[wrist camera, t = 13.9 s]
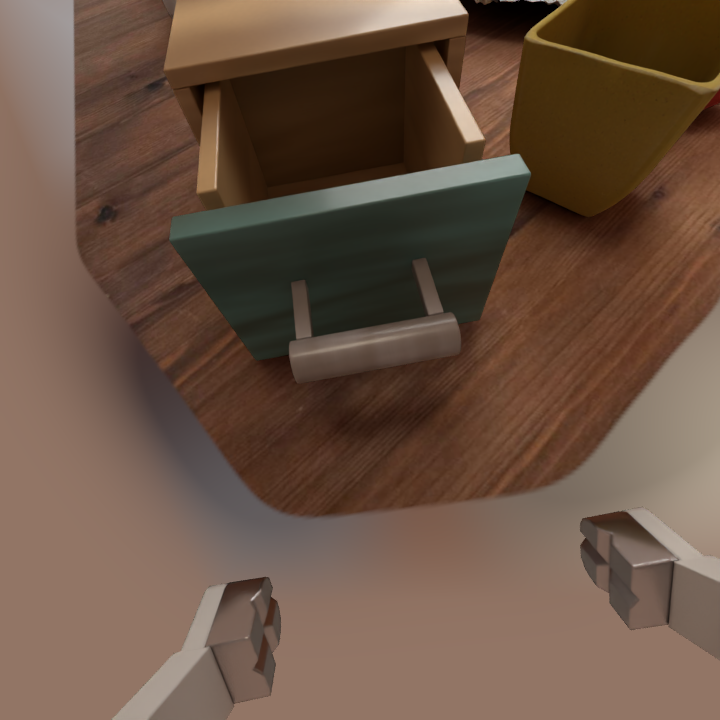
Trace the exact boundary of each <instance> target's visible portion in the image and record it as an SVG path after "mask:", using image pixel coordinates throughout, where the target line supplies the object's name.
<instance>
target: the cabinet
mask: <svg viewBox="0 0 720 720" xmlns="http://www.w3.org/2000/svg"><path fill="white" fill-rule="evenodd" d="M468 17H469V14H468V12H467V11H466V9H465V8H464V7H463V5H462V4H461V2H460V1H459V0H176V6H175V11H174V16H173V22H172V27H171V33H170V38H169V43H168V49H167V54H166V59H165V65H164V73H165V75H166V78H167V80H168V82H169V84H170V86H171V88H172V89H173V92H174V94H175V96H176V98H177V100H178V103H179V105H180V107H181V109H182V111H183V113H184V115H185V117H186V119H187V121H188V123H189V125H190V127H191V129H192V132H193V134H194V136H195V138H196V140H197V142H198V144H199V146H200V141H201V128H202V115H203V102H204V89H205V84H206V83H211V82H216V81H222V80H227V79H233V78H238V77H243V76H249V75H254V74H260V73H265V72H271V71H276V70H281V69H287V68H292V67H298V66H303V65H308V64H314V63H319V62H325V61H330V60H335V59H341V58H346V57H352V56H357V55H363V54H368V53H373V52H379V51H384V50H390V49H395V48H400V47H406V46H411V45H417V44H422V43H427V42H433V43H434V45H435V47H436V49H437V51H438V52H439V54H440V56H441V58H442V60H443V62H444V63H445V65H446V67H447V69H448V71H449V73H450V75H451V76H452V78H453V80H454V82H455V84H456V86H457V87H458V89H459V87H460V79H461V72H462V64H463V57H464V50H465V42H466V36H465V35H466V32H467V25H468Z"/></svg>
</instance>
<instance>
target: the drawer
mask: <svg viewBox="0 0 720 720" xmlns="http://www.w3.org/2000/svg"><path fill="white" fill-rule="evenodd" d="M485 142H486V139H485V137H484V135H483V134H482V132H481V130H480V128H479V126H478V124H477V122H476V121H475V119H474V117H473V115H472V113H471V111H470V110H469V108H468V106H467V104H466V102H465V100H464V99H463V97H462V95H461V93H460V91H459V89H458V87H457V86H456V84H455V82H454V80H453V78H452V76H451V75H450V73H449V71H448V69H447V67H446V65H445V63H444V62H443V60H442V58H441V56H440V54H439V52H438V51H437V49H436V47H435V45H434V43H433V42H427V43H422V44H417V45H411V46H406V47H400V48H395V49H390V50H384V51H379V52H373V53H368V54H363V55H357V56H352V57H346V58H341V59H335V60H330V61H325V62H319V63H314V64H308V65H303V66H298V67H292V68H287V69H281V70H276V71H271V72H265V73H260V74H254V75H249V76H243V77H238V78H233V79H227V80H222V81H216V82H211V83H206V84H205V89H204V102H203V115H202V128H201V141H200V153H199V166H198V179H197V195H198V197H199V199H200V201H201V202H202V204H203V206H204V208H205V210H206V211H202V212H197V213H191V214H186V215H180V216H175V217H172V221H171V229H170V238H169V241H170V242H171V244H172V245H173V247H174V248H175V249H176V251H177V252H178V253H179V255H180V256H181V258H182V259H183V260H184V262H185V263H186V265H187V266H188V267H189V269H190V270H191V271H192V273H193V274H194V276H195V277H196V278H197V280H198V281H199V282H200V284H201V285H202V287H203V288H204V289H205V291H206V292H207V294H208V295H209V296H210V298H211V299H212V300H213V302H214V303H215V305H216V306H217V307H218V309H219V310H220V311H221V313H222V314H223V316H224V317H225V318H226V320H227V321H228V322H229V324H230V325H231V327H232V328H233V329H234V331H235V332H236V334H237V335H238V336H239V338H240V339H241V340H242V342H243V343H244V345H245V346H246V347H247V349H248V350H249V351H250V353H251V354H252V356H253V357H254V358H255V360H256V361H258V360H264V359H269V358H275V357H280V356H285V355H289V357H290V364H291V368H292V372H293V376H294V378H295V380H296V382H297V383H298V384H301V383H307V382H312V381H318V380H323V379H329V378H334V377H340V376H345V375H351V374H356V373H361V372H367V371H372V370H378V369H383V368H389V367H394V366H400V365H405V364H411V363H416V362H422V361H427V360H433V359H438V358H443V357H449V356H454V355H458V354H459V353H460V351H461V335H460V329H459V325H458V324H460V323H466V322H471V321H477V320H480V317H481V315H482V312H483V309H484V306H485V303H486V300H487V298H488V295H489V292H490V289H491V286H492V284H493V281H494V278H495V275H496V272H497V270H498V267H499V264H500V261H501V258H502V255H503V253H504V250H505V247H506V244H507V241H508V239H509V236H510V233H511V230H512V227H513V225H514V222H515V219H516V216H517V213H518V210H519V208H520V205H521V202H522V199H523V196H524V194H525V191H526V188H527V185H528V182H529V180H530V177H531V172H530V171H529V169H528V167H527V166H526V164H525V162H524V161H523V159H522V157H521V156H520V154H512V155H507V156H501V157H496V158H490V159H485V160H482V156H483V151H484V146H485Z"/></svg>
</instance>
